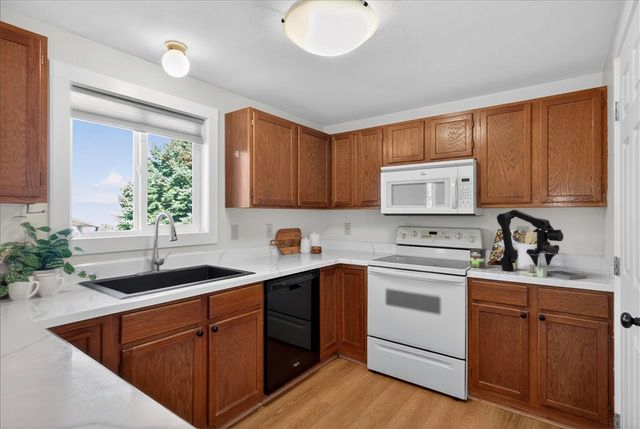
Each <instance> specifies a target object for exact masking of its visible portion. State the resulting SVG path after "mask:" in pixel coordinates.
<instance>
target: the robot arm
mask: <svg viewBox="0 0 640 429" xmlns="http://www.w3.org/2000/svg"><path fill="white" fill-rule="evenodd" d="M515 218H517V219H520V220H522V221H523V222H524V221H525V222H527V223H529V224H531V225H532V226H533V227H534V228H535V229H534V230H533V231H532V233H536V240H535V241H534V243H535V244H536V247H535V248H534V249H533V248H528V249H527V250H525V251H526V252H525V254H526V255H528V256H529V257H530V259H531V261H532V262H533V265H534V267H538V266H539V265H538V264H539V257H540V255H541V254H544V258H545V263H546V265H547V266H550V264H551V262H552V260H553V258H554V257H556V256H557V254H558V255H559V251H560V245H558V244H554V245H553V244H551V241H553V242H562V241H563V240H564V233H563V231H562V229H554V228H553V226H552V225H551V222H550V221H549V219H545V218H541V217H535V216H532V215H530V214H527V213H525V212H523V211H520V210H519V209H511V210H509V211H507V212H503V213H499V214H498V215H497V216H496V220H497V224H498V225H499V226H500V228H501V234H502V240H503V245H504V246H503V247H504V249H503V253H502V257H501V258H500V259H499V263H500V264H501V271H503V272H509V273H514V268H515V267H514V264H515V263H516V261H517V260H518V258H519V254H518V249H515V248H514V246H513V241H512V240H513V239H512V234H511V228H510V226H511V223H512V220H513V219H515Z"/></svg>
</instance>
